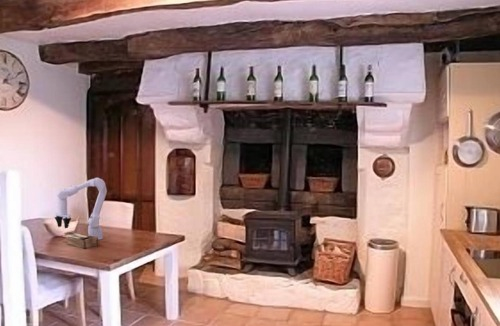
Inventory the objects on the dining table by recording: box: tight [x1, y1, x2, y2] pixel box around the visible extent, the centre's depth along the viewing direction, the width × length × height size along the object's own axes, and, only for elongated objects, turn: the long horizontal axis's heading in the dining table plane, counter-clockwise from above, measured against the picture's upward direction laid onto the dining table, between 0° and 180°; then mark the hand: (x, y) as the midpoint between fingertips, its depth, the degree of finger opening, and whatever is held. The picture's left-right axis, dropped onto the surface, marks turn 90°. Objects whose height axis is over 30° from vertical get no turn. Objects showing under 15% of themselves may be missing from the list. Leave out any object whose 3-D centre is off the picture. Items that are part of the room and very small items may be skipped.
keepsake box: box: [67, 233, 99, 250], centre depth 320 cm, size 11×18×6 cm, turn 55°
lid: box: [62, 231, 88, 239], centre depth 325 cm, size 9×16×2 cm, turn 55°
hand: (63, 227), depth 328 cm, fingers open, 7 cm apart
